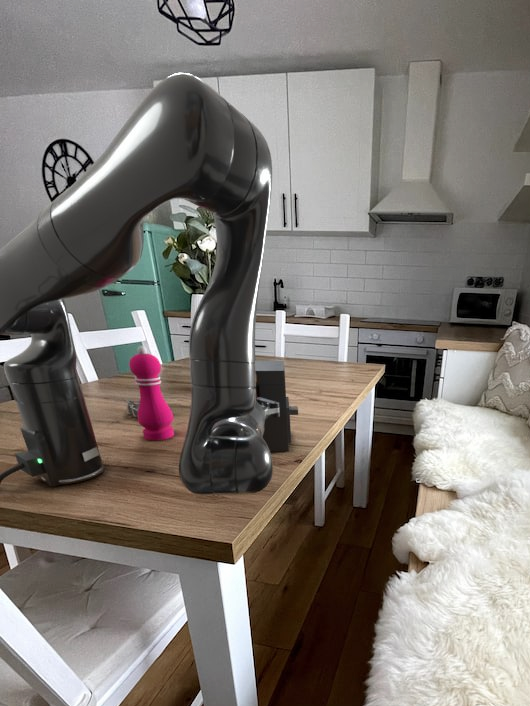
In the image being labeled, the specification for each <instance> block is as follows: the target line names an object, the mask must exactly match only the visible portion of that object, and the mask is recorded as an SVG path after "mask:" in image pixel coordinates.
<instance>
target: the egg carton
mask: <svg viewBox="0 0 530 706" xmlns="http://www.w3.org/2000/svg"><path fill="white" fill-rule="evenodd" d="M123 401H126V402H127V405H126V410H127V413H128V415H132V416H133V417H135V418H138V417H137V414H138V408H139V404H140V399H139V400H138V403H135V402H134V401H133V399H127V398H124V399H123Z"/></svg>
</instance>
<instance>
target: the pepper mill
mask: <svg viewBox="0 0 530 706" xmlns="http://www.w3.org/2000/svg"><path fill="white" fill-rule="evenodd" d="M128 366H129V370H130V371H131V373H132V374H133V375H134V376H135V377H134V380H135V385H137V386H138V389H139V396H140V397H139V398H140V399H139V400H140V404H139V408H138V414H137V417H136V418H137V422H138V424H139V425H140V426H141V427H143V429H142V434H143V438H144V439H145V440H147V441H163V440H167V439H170V438H172V437H174V435H175V431H174V428H173V426H171V424H172V423H173V421H174V416H173V415H174V414H173V412H172V410H171V408H170V406H169V405H168V403H167V402H166V400H165V399H164V396H163V393H162V390H161V385H160V384H161V383H162V380H161V376H160V372H161V371H162V365H161V362H160V360H159V358H158V357H156V355H153V354H152V353H151V354H150V353H148V349H147V348H146V346H144V345H139V346H138V347H137V354H135V355H133V356H131V358H129V363H128Z"/></svg>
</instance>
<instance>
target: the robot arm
mask: <svg viewBox="0 0 530 706" xmlns="http://www.w3.org/2000/svg"><path fill="white" fill-rule="evenodd" d="M272 161H273V160H272V155H271V151H270V148H269V145H268V141H267V140H266V138H265V136H264V135H263V133H262V132H261V131H260V129H259V128H258V127H257V126H256V125H255V124H254V123H253V122H252V121H251V120H250V119H248V118H247V117H246V116H245V114H243V113H241V112H240V111H239V110H238V109H237V108H236V107H235V106H234V105H232V104H231V103H230V102H229V101H228V100H227V99H225V98H224V97H223V96H222V95H221V94H220V93H219V92H218V91H216V89H214V88H213V87H211V85H208V83H206V82H205V81H203V80H202V79H200V78H199V77H197V76H196V75H195V76H194V75H193V74H190V73H186V72H185V73H184V72H178V73H174V74H172V75H170V76H167V77H166V78H164V79H162V80H161V81H160V82H158V83H157V84H156V85H155V86H154V87H153V88H152V89H151V90H150V91H149V92H148V93H147V94H146V96H145V97H144V98H143V99H142V101H141V102H140V103H139V105H138V106H137V107H136V109H135V110H134V111H133V112H132V113H131V115H130V116H129V118H127V121H126V122H125V123H124V125H122V128H121V129H120V130H119V131H118V132H117V134H116V135H115V136H114V138H113V139H112V141H111V142H110V144H109V145H108V146H107V148H106V149H105V150H104V151H103V153H101V155H100V156H99V157H98V158H97V159H96V160H95V161H94V162H93V163H92V164H91V165H90V166H89V167H88V168H87V170H86V171H84V172H83V174H82V175H81V176H80V177H79V178H78V179H77V180H76V181H74V183H73V184H71V186H69V187H68V188H66V190H64V191H63V192H62V193H60V194H59V195H58V196H57V197H55V199H54V200H52V201H51V202H50V203H49V204H48V205H47V206H46V207H45V208H44V209H43V210H42V211H41V212H40V214H39V215H38V216H36V218H35V219H34V220H33V221H32V222H30V223H29V225H28V226H26V227H25V228H23V229H22V231H21V232H19V233H18V234H17V235H15V236H14V237H13V238H12V239H11V240H10V241H9V242H7V244H5V245H4V246H3V247H1V248H0V335H1V336H22V335H30V336H31V337H30V338H31V341H30V343H29V345H28V346H27V348H26V349H24V350H23V351H21V352H20V353H19V354H16V355H15V356H13V357H12V358H9V359H7V360H6V361H5V362H4V363H3V370H4V374H5V377H6V379H7V382H8V385H9V387H10V388H9V389H10V390H11V393H12V397H13V400H14V402H15V406H16V408H17V410H18V414H19V416H20V420H21V422H22V424H23V425H21V426H20V427H19V429H20V433H21V435H22V438H23V440H24V444H25V446H26V449H27V450H24V451H20V452H16V453H14V456H15V458H16V461H17V465H15V466H13V467H11V468H9V469H7V470H5V471H3V472H1V473H0V485H1V483H2V481H3V480H4V479H5V478H7V477H8V476H10V475H11V474H13V473H16V472H18V471H22V472H24V473H26V474H27V475H29V476H30V477H32V478H33V477H37V479H39V480H40V481H42V483H45V484H46V485H48V486H50V487H51V488H54V487H58V486H64V485H72V484H77V483H81V482H85V481H88V480H91V479H93V478H97V476H98V477H99V475H101V474H102V473H103V472H104V471H105V466H104V463H103V459H102V457H101V454H100V449H99V446H98V443H97V439H96V435H95V431H94V428H93V425H92V424H93V423H92V421H91V417H90V413H89V410H88V409H89V408H88V406H87V403H86V400H85V399H86V398H85V395H84V390H83V387H82V384H81V380H80V377H79V373H78V369H77V361H78V359H77V358H78V357H77V350H76V345H75V342H74V338H73V337H74V336H73V333H72V328H71V323H70V317H69V312H68V309H67V305H66V302H65V299H70V298H75V297H79V296H82V295H87V294H90V293H94V292H96V291H97V292H98V291H99V290H102V289H104V288H106V287H109V286H110V285H112V284H113V283H115V282H116V281H118V280H119V279H121V278H123V277H125V276H126V275H127V274H129V273H130V272H131V271H132V270H133V269H135V267H136V266H137V265H138V264H139V262H140V261H141V258H142V254H143V251H144V242H145V241H144V240H145V239H144V238H145V237H144V236H145V235H144V233H145V232H144V220H145V218H147V217H148V216H149V215H150V214H151V213H153V212H154V211H155V210H156V209H158V208H160V207H161V206H162V205H164V204H167V203H168V202H171V201H173V200H185V201H186V202H189V203H190V204H193V205H194V206H197V207H199V208H201V209H203V210H205V211H207V212H209V213H211V214H212V216H213V220H214V227H215V237H216V255H215V263H214V267H213V270H212V273H211V277H210V279H209V281H208V284H207V286H206V288H205V291H204V292H203V295H202V297H201V299H200V301H199V304H198V306H197V308H196V311H195V313H194V316H193V318H192V322H191V325H190V330H189V338H188V359H189V361H188V362H189V378H190V411H189V416H188V418H189V419H188V423H187V429H186V433H185V437H184V440H183V445H182V448H181V452H180V456H179V460H178V475H179V479H180V481H181V483H182V485H183V486H184V488H185V489H186V490H187V491H188V492H189V493H191V494H193V495H195V496H241V495H242V496H249V495H250V496H251V495H255V494H259V493H261V492H262V491H264V490H265V489H266V488H267V487H268V485H270V482H271V480H272V478H273V472H274V464H273V458H272V454H271V453H272V452H270V450H269V448H268V446H267V444H266V442H265V440H264V439H263V438H262V437H263V434H264V430H265V429H264V423H265V419H267V418H268V416H273V417H280V411H279V403H278V402H275V401H271V400H268V399H265V398H261V397H258V398H256V388H254V387H256V368H255V361H256V323H257V322H256V321H257V308H258V300H259V299H258V298H259V290H260V282H261V276H262V268H263V262H264V254H265V247H266V246H265V245H266V237H267V228H268V222H269V215H270V208H271V199H272V198H271V197H272V186H273V163H272Z"/></svg>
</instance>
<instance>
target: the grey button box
mask: <svg viewBox="0 0 530 706" xmlns="http://www.w3.org/2000/svg"><path fill="white" fill-rule="evenodd" d="M255 368H256V387H254V388H256V392H257V398H258V397H261V398H265V399H268V400H271V401H275V402H278V403H279V411H280V417H273V416H268V418H267V419H265V423H264V429H265V430H264V434H263V437H262V438H263V439H264V440H265V442H266V444H267V446H268V448H269V450H270V453H272V452H273V453H274V452H289V451H290V444H292V432H291V431H292V430H291V428H292V427H291V416H298V415H299V407H298V405H290V397H289V396H287V389H286V386H287V385H286V374H285V373H286V370H285V369H286V368H285V360H255Z"/></svg>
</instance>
